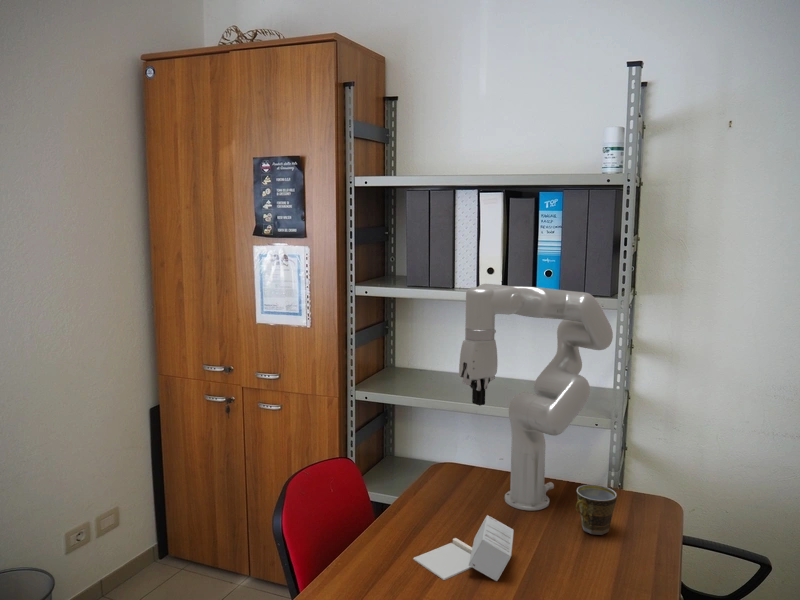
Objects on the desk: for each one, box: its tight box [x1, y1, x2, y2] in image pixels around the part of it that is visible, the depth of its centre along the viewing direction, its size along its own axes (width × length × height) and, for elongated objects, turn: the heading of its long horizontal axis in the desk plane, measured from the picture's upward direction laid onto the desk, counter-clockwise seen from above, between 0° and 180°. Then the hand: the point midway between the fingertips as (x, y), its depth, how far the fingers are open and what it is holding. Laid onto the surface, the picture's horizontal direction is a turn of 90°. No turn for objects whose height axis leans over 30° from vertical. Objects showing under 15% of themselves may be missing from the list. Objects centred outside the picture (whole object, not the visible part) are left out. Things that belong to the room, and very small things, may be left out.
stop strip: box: [452, 537, 473, 554], centre depth 151 cm, size 1×11×1 cm, turn 37°
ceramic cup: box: [575, 484, 618, 536], centre depth 162 cm, size 13×10×10 cm
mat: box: [412, 542, 473, 581], centre depth 147 cm, size 12×11×1 cm
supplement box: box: [469, 514, 515, 582], centre depth 145 cm, size 7×7×13 cm
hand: (478, 403), depth 164 cm, fingers closed
